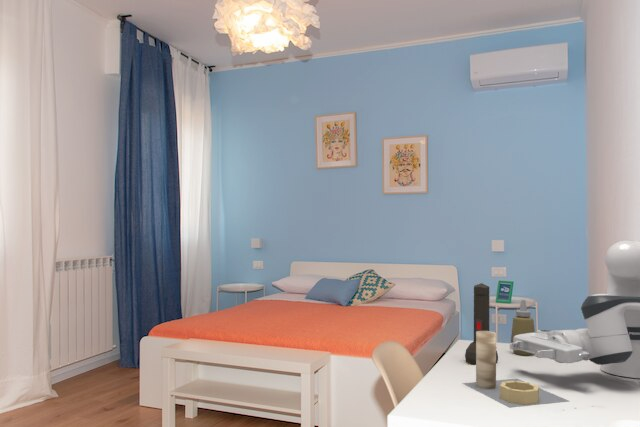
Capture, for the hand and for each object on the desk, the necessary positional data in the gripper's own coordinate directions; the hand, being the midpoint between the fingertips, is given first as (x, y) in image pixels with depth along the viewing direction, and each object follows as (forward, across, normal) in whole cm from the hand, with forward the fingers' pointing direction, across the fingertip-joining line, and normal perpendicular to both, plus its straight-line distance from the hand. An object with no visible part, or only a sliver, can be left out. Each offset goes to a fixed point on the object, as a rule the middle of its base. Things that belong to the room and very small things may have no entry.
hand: (523, 350), depth 147 cm
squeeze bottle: (-26, +29, -10) cm, 41 cm away
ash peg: (+12, 0, -8) cm, 15 cm away
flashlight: (-5, +24, -10) cm, 27 cm away
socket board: (+9, -6, -10) cm, 14 cm away
